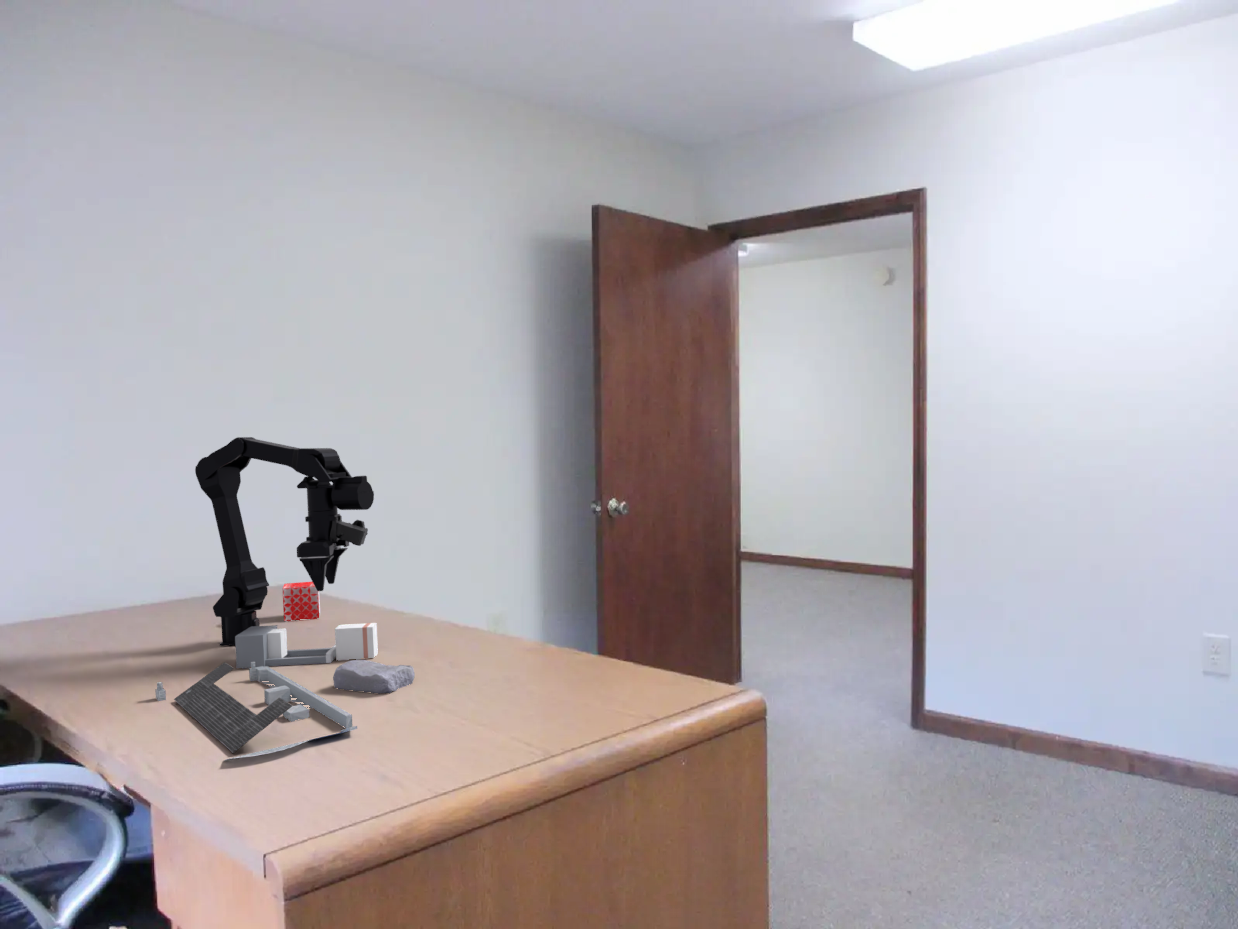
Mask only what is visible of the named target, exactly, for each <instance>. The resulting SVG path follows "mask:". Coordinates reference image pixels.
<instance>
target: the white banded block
mask: <svg viewBox="0 0 1238 929" xmlns="http://www.w3.org/2000/svg"><path fill="white" fill-rule="evenodd" d="M334 636H335V639H334V640H335V644H336V658H335V659H336V662H337V660H338V661H350V660H349V659H356V660H362V659H361V658H374V657H375V656H376V657H377V655H379V650H378V648H379V647H378V646H379V645H378V644H379V643H378V623H377V622H365V623H350V624H349V623H347V624H339V625H338V626H336V627H335V628H334ZM376 657H375V658H376ZM375 658H374V659H375Z"/></svg>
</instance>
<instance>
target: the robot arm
mask: <svg viewBox="0 0 1238 929" xmlns="http://www.w3.org/2000/svg"><path fill="white" fill-rule="evenodd" d="M340 458H341V457H340V455H339V454H338V451H337V450H336V449H333V448H331V447H323V448H321V447H317V448H316V447H309V448H308V447H304V448H302V447H295V446H290V445H285V444H281V443H276V442H271V441H267V440H263V439H262V440H261V439H257V438H255V437H251V436H249V437H248V436H243V437H242V436H241V437H239V436H237V437H235V438H233V439H232V440H231V441H230V442H228V443H227V444H226V445H224V446H222V447H220V448H219V449H217V450H215V451H214V452H213V451H212V452H211V453H210V454H209V455H208V456H204V457H202V458H201V459H200V460H199V461H198V462H197V464H196V466H195V469H194V471H195V473H194V474H195V476H196V480H197V481H198V484H199V487H200V489H201V491H203V493H204V494H205V495H206V496H207V497H208V498H209V499H210V501H211V504H212V508H213V512H214V517H215V522H216V526H217V530H218V535H219V539H220V543H221V548H222V552H223V557H224V560H225V565H226V568H225V572H224V576H223V579H222V595H221V596H220V598H218V600H217V601H216V603H214V604H213V606H212V610H213V613H214V616H215V617H216V618H217V617H218V618H220V621H221V623H220V624H221V642H220V643H218V645H219V647H222V646H223V647H224V646H235V636H237V635H238V634H240V633H241V632H243V631H245V630H246V629H248V628H249V627H251V626H261V625H260V618H259V617H257V611H260V610H262V607H263V604H264V600H265V599H266V597H267V595H268V592H269V591H268V587H270V584H269V581H268V579H267V575H266V574H267V573H266V569H265V567H264V566H263V567H257V566H256V564H254V562H253V560H252V557H251V553H250V548H249V543H248V539H247V535H246V534H247V533H246V530H245V526H244V523H243V517H242V513H241V508H240V504H239V500H238V491H239V488H240V486H241V482H242V481H241V479H242V478H241V472H242V471H244V469H245V468H247V467H248V465H249V464H250V462H251V460H252V459H255V460H258V461H263V462H268V463H273V464H276V465H277V464H278V465H282V466H286V467H289V468H291V469H293V470H294V471H295V472H296V473H299V474H301V475H304V478H303V479H302V480H301V481H300V482H299V483H298V484H297V485H296V488H297V489H306V500H307V503H306V504H307V516H305V517H304V518H305V523H308V525H307V526H308V536H306V539H305V541H303V542H301V543H299V544H298V546H297V547H296V557H297V558H298V559H299V561H300V562H301V563H302V565H303V567H304V569H305V570H306V572H307V575H308V576H309V578H310V579H311V582H313V583H314V585H315V587H316V589H317V591H319V592H323V591H324V589H325V583H326V582H325V581H327V584H328V585H333V584H335V581H336V575H337V571H338V567H339V566H338V565H339V563H340V562H339V561H340V558H341V556H342V555H343V554H344V553H345V552H346V551H347V550H348V547H349V546H350V543H351V544H352V545H354V546H359V547H360V546H362V545H364V543H365V541H366V540H365V539H366V537H367V536H368V531H369V529H368V528H367V527H366V525H365V522H364V521H363V520H359V519H356V520H354V521H353V523H351V522H347V521H343V520H342V519H343V518H342V515H341V513H339V512H338V511H339V510H341V511H355V510H356V511H365V510H366V511H368V510H369V509H371V507H372V506H373V503H374V499H375V498H374V496H375V491H374V490H373V488H372V485H371V484H370V483H369V482H368V476H367V475H356V476H355V475H354V476H352V475H351V474H350V471H348V469H347V468H346V467H345V465H344V464H343V463H342V461H341V459H340ZM331 483H332V484H331Z"/></svg>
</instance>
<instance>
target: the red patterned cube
mask: <svg viewBox="0 0 1238 929" xmlns="http://www.w3.org/2000/svg"><path fill="white" fill-rule="evenodd" d="M320 602H321V601H320V591H317V589H316V587H315V585H314V583H313V582H312V581H302V582H289V583H284V584H283V586H282V604H283V605H282V606H283V622H284V621H288V622H292V621H291V620H299V621H301V620H300V619H310V620H318V619H317V618H319V613H320V614H321V604H320Z"/></svg>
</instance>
